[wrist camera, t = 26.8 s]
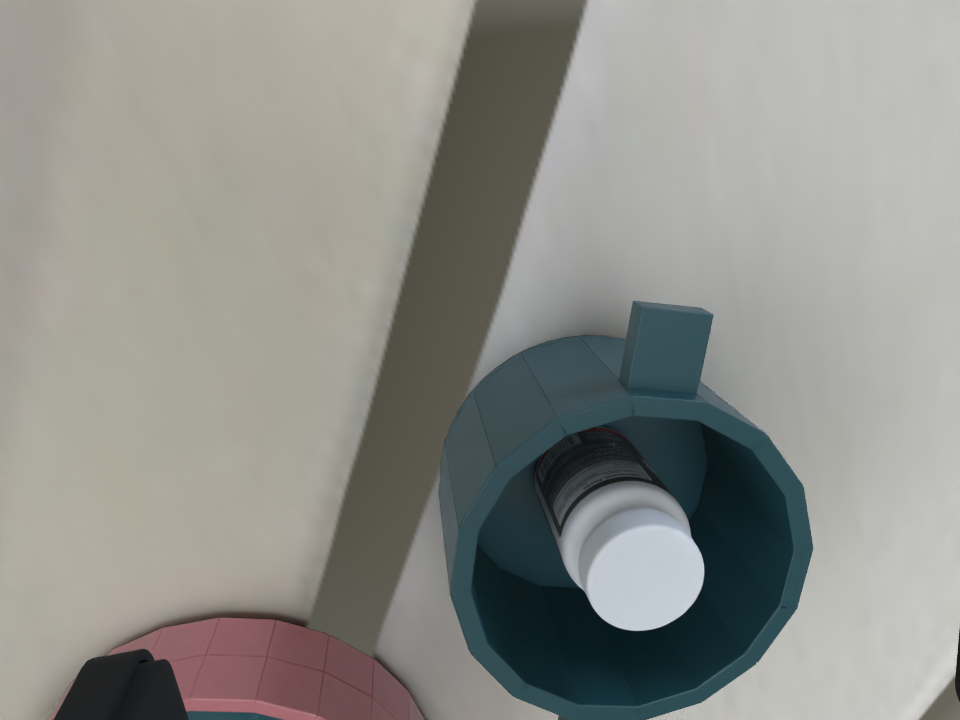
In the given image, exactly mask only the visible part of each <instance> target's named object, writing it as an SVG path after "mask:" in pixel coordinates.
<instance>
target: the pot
mask: <svg viewBox="0 0 960 720" xmlns="http://www.w3.org/2000/svg"><path fill="white" fill-rule="evenodd" d="M712 319H713V314H711V313H710V312H708V311H706V310H704V309H702V308H698V307H688V306H679V305H669V304H659V303H649V302H639V301H633V304H632V310H631V315H630V321H629V326H628V332H627V337H626V340H624V339H619V338H613V337H607V336H587V335H585V336H575V337H565V338H561V339H557V340H552V341H548V342H545V343H542V344H540V345H537V346H534V347H531V348H529V349H527V350H525V351H523V352H521V353H519V354H517V355H515V356H513V357H511V358H510V359H508V360H507V361H505V362H504V363H502V364H501V365H500V366H498V367H497V368H495V369H494V370H493V371H492V372H491V373H490V374H488V375H487V376H486V377H485V378H484V379H483V380H482V381H481V382H480V383H479V384H478V385H477V386H476V387H475V389H474V390H473V391H472V392H471V393H470V394H469V395H468V397H467V398H466V400H465V401H464V403H463V404H462V406H461V407H460V409H459V410H458V412H457V414H456V416H455V418H454V420H453V422H452V424H451V426H450V429H449V431H448V434H447V437H446V439H445V442H444V448H443V453H442V458H441V468H440V484H439V501H440V510H441V519H442V527H443V536H444V545H445V553H446V562H447V571H448V580H449V588H450V596H451V599H452V601H453V604H454V607H455V610H456V613H457V616H458V619H459V622H460V625H461V628H462V631H463V634H464V637H465V640H466V643H467V646H468V649H469V651H470V653H471V654H472V656H473V657H474V658H475V659H476V660H477V661H478V662H479V663H480V664H481V665H482V666H483V667H484V668H485V669H486V670H487V671H488V672H489V673H490V674H491V675H492V676H493V677H494V678H495V679H496V680H497V681H498V682H499V683H500V684H501V685H502V686H503V687H504V688H505V689H506V690H507V691H508V692H509V693H510V694H511V695H512V696H514V697H515V698H518V699H520V700H523V701H525V702H528V703H530V704H533V705H535V706H537V707H540V708H542V709H545V710H547V711H550V712H552V713H555V714H557V715H559V717H558V720H646V719H650V718H653V717H656V716H659V715H663V714H666V713H669V712H672V711H676V710H679V709H682V708H685V707H688V706H692V705H695V704H698V703H701V702H702V701H704V700H706V699H707V698H709V697H710V696H711V695H713V694H714V693H716V692H717V691H719V690H720V689H721V688H723V687H724V686H726V685H727V684H728V683H730V682H731V681H733V680H734V679H736V678H737V677H738V676H740V675H741V674H743V673H744V672H746V671H747V670H748V669H750V668H751V667H753V666H754V665H755V664H756V662H759V660H760V659H761V657H762V656H763V655H764V653H765V652H766V651H767V649H768V648H769V646H770V645H771V644H772V642H773V641H774V640H775V638H776V637H777V635H778V634H779V633H780V631H781V630H782V629H783V627H784V626H785V624H786V623H787V622H788V620H789V619H790V618H791V616H792V615H793V614H794V612H795V610H796V609H797V607H798V603H799V599H800V595H801V592H802V588H803V584H804V581H805V577H806V573H807V570H808V566H809V562H810V558H811V555H812V551H813V544H812V537H811V531H810V525H809V518H808V512H807V506H806V499H805V493H804V487H803V485H802V483H801V482H800V481H799V479H798V478H797V476H796V475H795V473H794V472H793V471H792V469H791V468H790V466H789V465H788V464H787V462H786V461H785V459H784V458H783V457H782V455H781V454H780V452H779V451H778V450H777V448H776V447H775V445H774V444H773V442H772V441H771V440H770V438H769V437H768V435H767V434H765V433H764V432H763V431H762V430H761V429H759V428H758V427H757V426H756V425H754V424H753V423H752V422H751V421H749V420H748V419H747V418H746V417H744V416H743V415H742V414H741V413H739V412H738V411H737V410H735V409H734V408H733V407H732V406H730V405H729V404H728V403H727V402H725V401H724V400H723V399H722V398H720V397H719V396H718V395H717V394H715V393H714V392H713V391H712V390H710V389H709V388H708V387H707V386H705V385H704V384H703V383H702V382H700V377H701V372H702V367H703V362H704V357H705V353H706V348H707V343H708V338H709V334H710V329H711V324H712ZM597 426H601V427H605V428H609V429H612V430H615V431H617V432H619V433H620V434H622V435H623V436H625V437H626V438H627V439H628V440H629V441H630V442H631V443H632V444H633V445H634V446H635V447H636V449H637V450H638V451H639V453H640V454H641V455H642V457H643V458H644V459H645V461H646V462H647V463H648V464H649V466H650V467H651V468H652V469H653V471H654V472H655V473H656V475H657V476H658V477H659V479H660V480H661V481H662V482H663V484H664V485H665V486H666V488H667V489H668V490H669V491H670V493H671V494H672V495H673V496H674V498H675V499H676V500H677V501H678V503H679V504H680V506H681V508H682V509H683V511H684V512H685V514H686V516H687V519H688V522H689V526H690V532H691V537H692V539H693V541H694V542H695V544H696V545H697V547H698V549H699V551H700V553H701V555H702V558H703V563H704V580H703V584H702V588H701V590H700V593H699V594H698V596H697V598H696V600H695V601H694V603H693V604H692V605H691V607H690V608H689V609H688V610H687V611H686V612H685V613H684V614H683V615H681V616H680V617H679V618H677V619H676V620H674V621H672V622H670V623H668V624H666V625H664V626H662V627H659V628H656V629H651V630H645V631H631V630H625V629H621V628H618V627H615V626H613V625H611V624H609V623H608V622H606V621H605V620H603V619H602V618H601V617H600V616H599V615H598V614H597V613H596V611H595V610H594V608H593V607H592V605H591V603H590V601H589V599H588V597H587V595H586V593H585V591H584V590H582V589H581V588H580V587H579V586H578V585H577V584H576V583H575V582H574V581H573V579H572V578H571V577H570V575H569V573H568V571H567V569H566V568H565V565H564V563H563V561H562V558H561V555H560V553H559V550H558V548H557V545H556V542H555V540H554V537H553V535H552V532H551V529H550V527H549V524H548V522H547V519H546V517H545V514H544V512H543V509H542V507H541V504H540V502H539V499H538V496H537V493H536V489H535V473H536V468H537V464H538V461H539V459H540V457H541V455H542V454H543V453H545V452H546V451H547V450H548V449H550V448H551V447H552V446H554V445H555V444H556V443H558V442H559V441H560V440H562V439H563V438H564V437H566V436H567V435H570V434H574V433H577V432H580V431H584V430H587V429H590V428H594V427H597Z"/></svg>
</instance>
